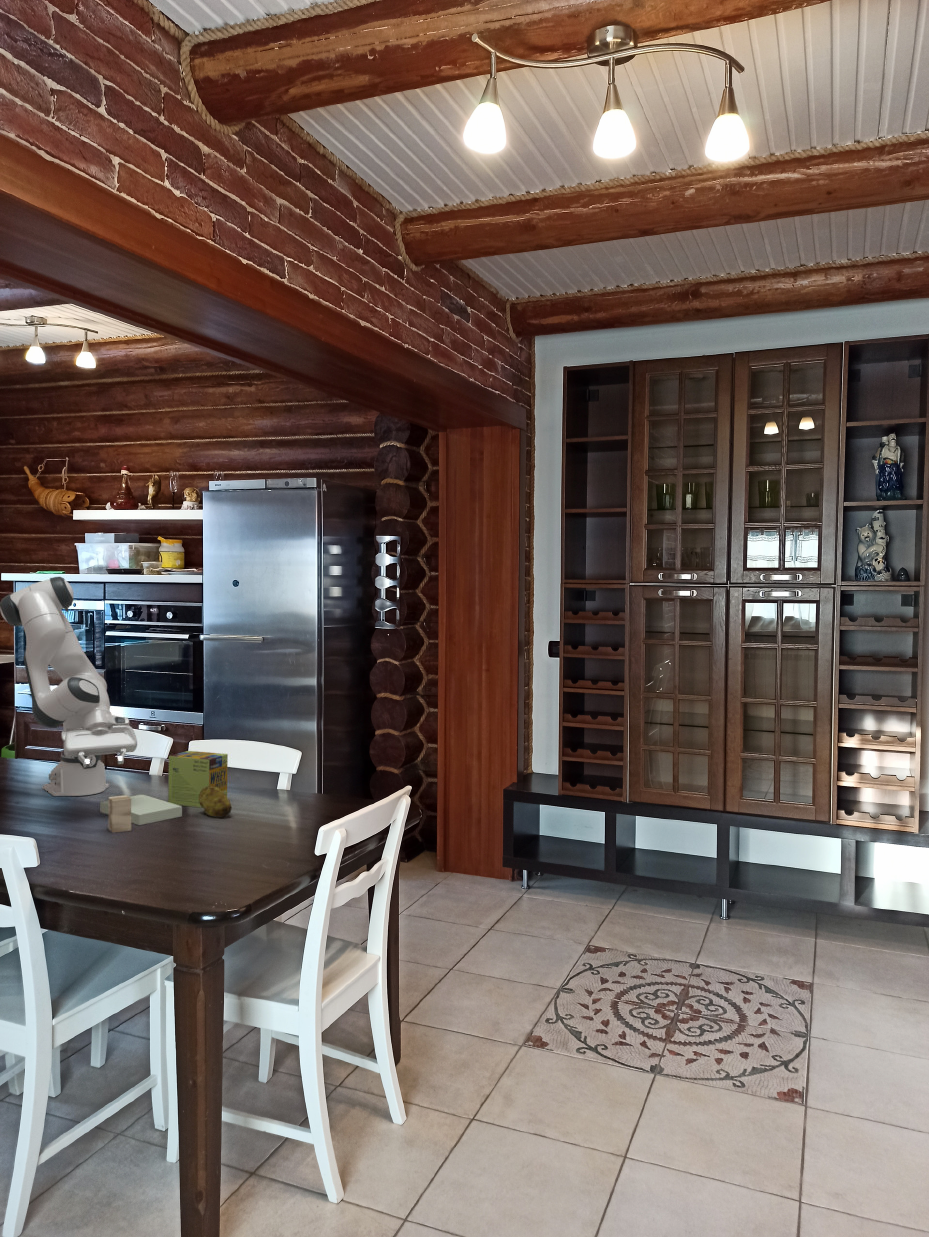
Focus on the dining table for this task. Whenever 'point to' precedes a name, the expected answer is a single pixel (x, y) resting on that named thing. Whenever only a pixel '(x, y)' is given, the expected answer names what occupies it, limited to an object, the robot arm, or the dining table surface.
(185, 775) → the protein box
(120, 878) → the dining table surface
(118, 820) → the birch block
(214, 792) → the potato
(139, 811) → the green board
